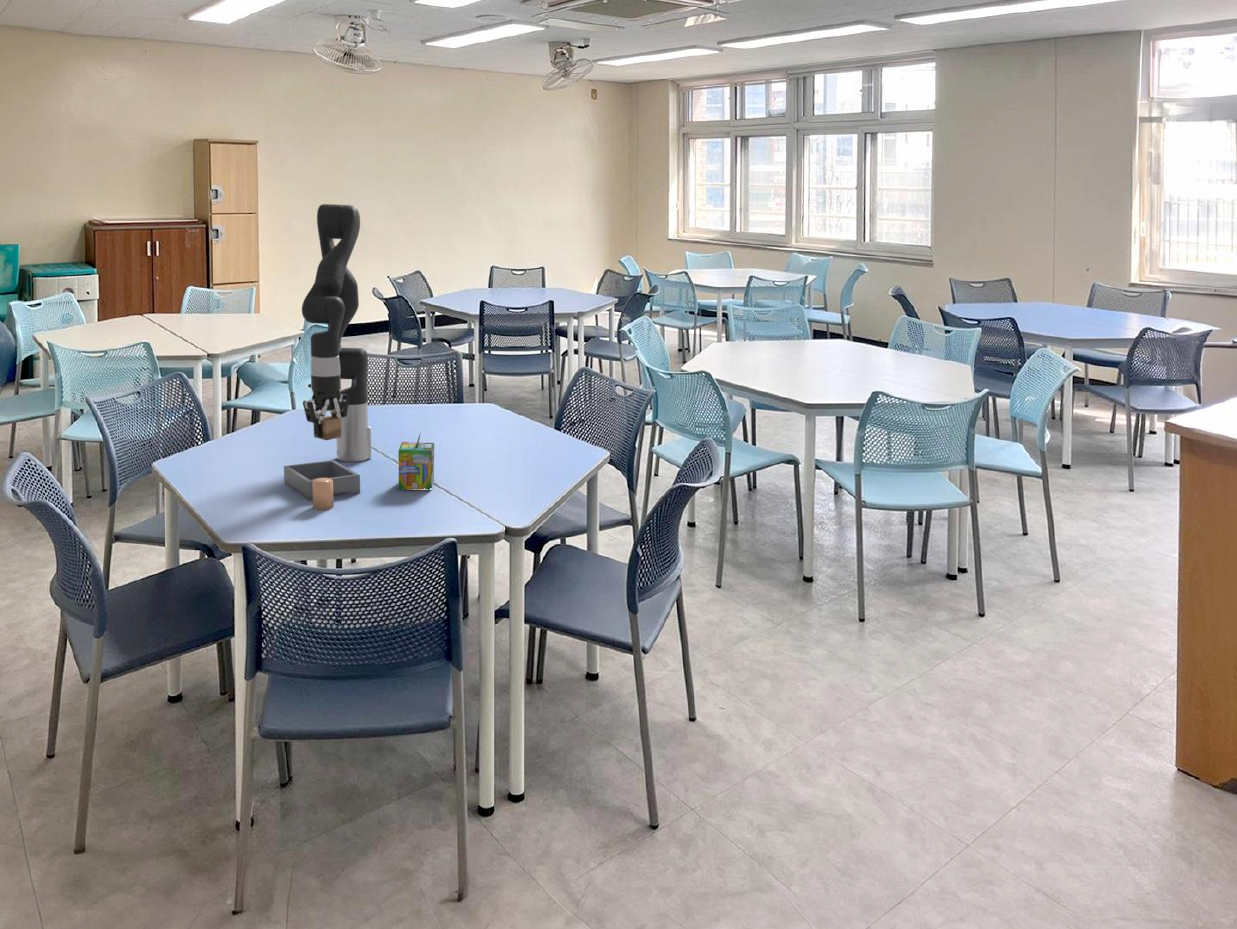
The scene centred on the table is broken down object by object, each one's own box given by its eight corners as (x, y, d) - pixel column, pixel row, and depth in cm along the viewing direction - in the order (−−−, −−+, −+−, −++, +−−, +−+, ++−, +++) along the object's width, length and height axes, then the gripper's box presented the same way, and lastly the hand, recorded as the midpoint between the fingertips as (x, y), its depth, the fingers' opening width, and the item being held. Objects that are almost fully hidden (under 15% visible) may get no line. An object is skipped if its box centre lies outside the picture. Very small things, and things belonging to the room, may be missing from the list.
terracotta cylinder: (329, 503, 274) (328, 476, 273) (336, 508, 271) (335, 481, 269) (310, 505, 272) (309, 479, 270) (317, 511, 268) (316, 484, 266)
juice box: (401, 481, 297) (400, 429, 293) (434, 482, 298) (434, 430, 294) (397, 490, 288) (396, 437, 284) (431, 491, 289) (431, 438, 285)
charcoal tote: (333, 477, 298) (333, 460, 297) (360, 493, 284) (359, 475, 283) (284, 483, 290) (283, 466, 288) (309, 500, 276) (308, 481, 275)
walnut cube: (341, 437, 284) (340, 418, 283) (326, 440, 280) (325, 421, 279) (328, 433, 287) (328, 415, 286) (313, 437, 283) (313, 418, 282)
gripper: (312, 378, 271) (315, 442, 276) (356, 371, 282) (358, 433, 287) (293, 374, 275) (296, 437, 280) (337, 367, 287) (339, 428, 291)
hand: (327, 435), depth 283 cm, fingers closed on walnut cube, 5 cm apart
